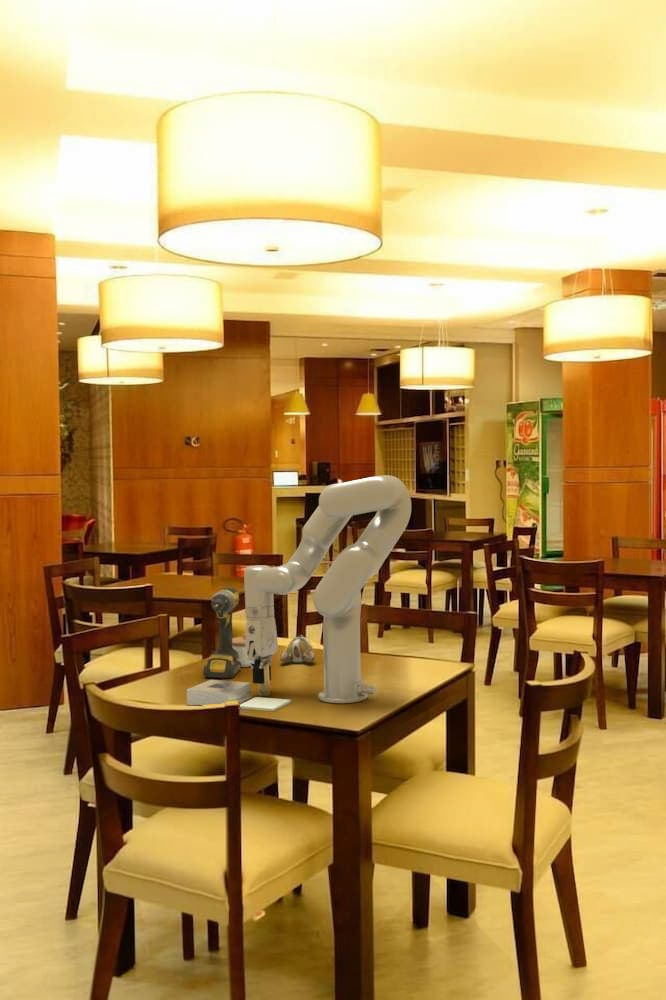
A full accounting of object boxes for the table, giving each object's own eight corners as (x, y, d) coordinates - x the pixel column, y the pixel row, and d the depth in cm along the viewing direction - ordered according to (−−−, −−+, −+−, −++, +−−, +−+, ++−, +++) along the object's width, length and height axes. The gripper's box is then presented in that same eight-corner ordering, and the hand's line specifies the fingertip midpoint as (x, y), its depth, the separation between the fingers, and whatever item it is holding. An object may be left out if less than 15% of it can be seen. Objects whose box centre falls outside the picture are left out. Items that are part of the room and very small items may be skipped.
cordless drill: (195, 684, 273) (193, 594, 272) (214, 669, 293) (212, 586, 292) (227, 684, 272) (225, 594, 271) (243, 669, 291) (241, 586, 291)
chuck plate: (251, 697, 255) (250, 682, 255) (228, 708, 244) (228, 692, 243) (210, 694, 259) (210, 679, 259) (187, 705, 248) (186, 689, 248)
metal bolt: (277, 693, 259) (275, 654, 259) (268, 697, 254) (266, 658, 254) (260, 692, 261) (258, 654, 261) (251, 696, 256) (249, 657, 256)
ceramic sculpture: (317, 629, 308) (312, 640, 293) (318, 656, 309) (314, 669, 294) (284, 630, 309) (277, 641, 294) (285, 657, 310) (278, 669, 295)
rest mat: (291, 702, 249) (290, 699, 249) (273, 711, 240) (273, 708, 240) (256, 699, 253) (256, 697, 253) (237, 708, 244) (237, 705, 244)
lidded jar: (265, 661, 303) (264, 631, 303) (260, 668, 292) (259, 637, 292) (231, 661, 304) (230, 631, 304) (224, 668, 293) (224, 637, 293)
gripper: (258, 617, 248) (260, 689, 249) (286, 608, 263) (288, 676, 264) (232, 616, 251) (234, 687, 252) (261, 607, 266) (263, 674, 267)
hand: (262, 681), depth 258 cm, fingers closed on metal bolt, 3 cm apart
